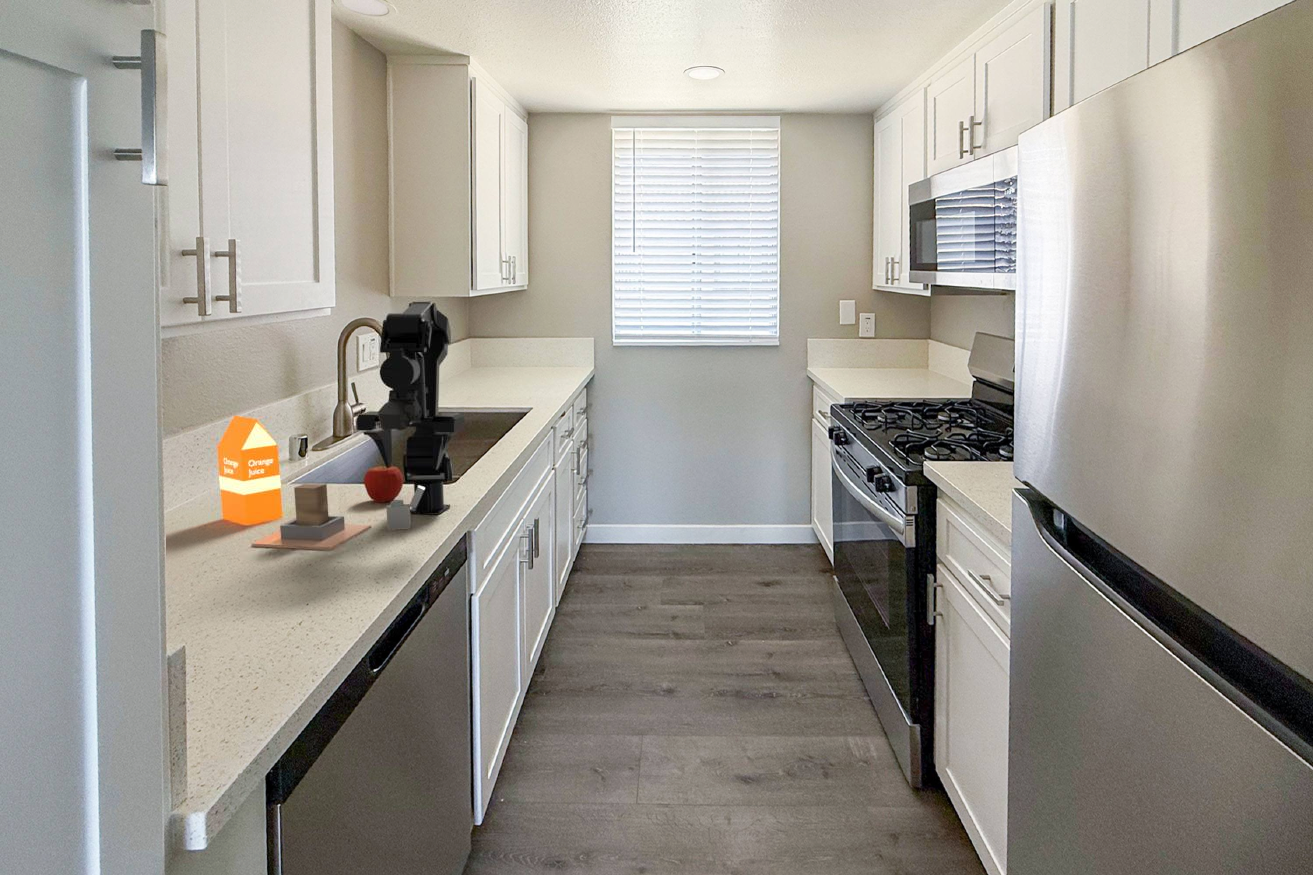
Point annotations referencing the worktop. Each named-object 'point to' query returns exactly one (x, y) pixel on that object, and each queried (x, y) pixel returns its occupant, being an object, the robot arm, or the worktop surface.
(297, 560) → the worktop surface
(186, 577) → the worktop surface
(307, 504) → the wooden block
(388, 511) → the lighter
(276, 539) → the block holder
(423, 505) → the robot arm
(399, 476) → the apple
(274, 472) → the orange juice
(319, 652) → the worktop surface
